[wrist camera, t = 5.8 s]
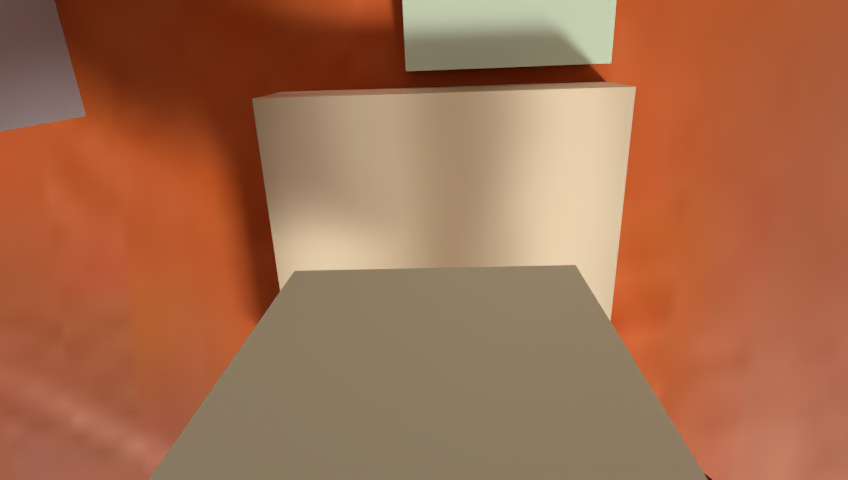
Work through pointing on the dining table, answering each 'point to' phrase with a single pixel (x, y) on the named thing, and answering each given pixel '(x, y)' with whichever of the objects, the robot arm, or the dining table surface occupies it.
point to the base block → (448, 177)
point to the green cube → (432, 385)
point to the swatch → (506, 33)
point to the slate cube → (35, 66)
